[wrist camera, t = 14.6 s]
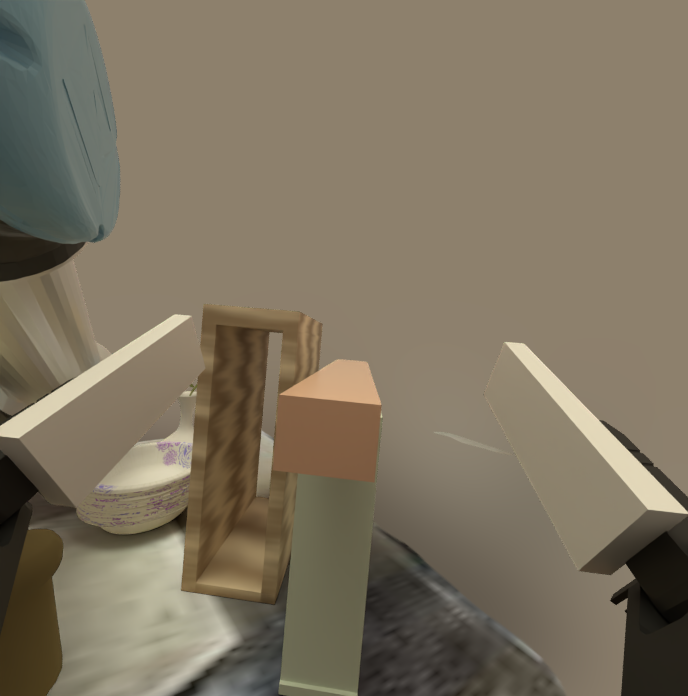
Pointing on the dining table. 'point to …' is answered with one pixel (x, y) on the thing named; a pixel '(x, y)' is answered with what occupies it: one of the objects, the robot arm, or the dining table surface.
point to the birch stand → (241, 454)
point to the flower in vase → (185, 418)
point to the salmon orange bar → (330, 424)
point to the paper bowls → (141, 489)
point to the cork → (32, 620)
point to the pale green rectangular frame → (327, 585)
